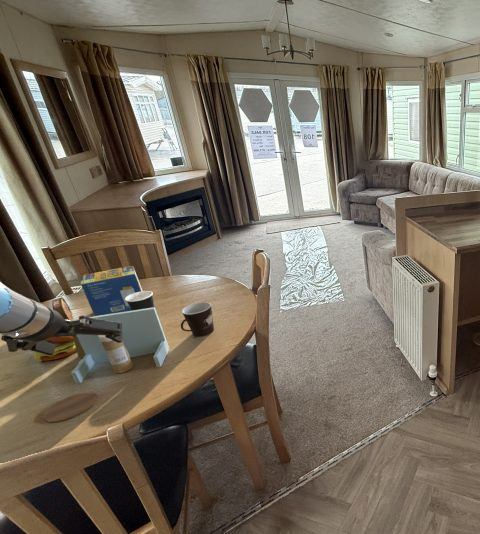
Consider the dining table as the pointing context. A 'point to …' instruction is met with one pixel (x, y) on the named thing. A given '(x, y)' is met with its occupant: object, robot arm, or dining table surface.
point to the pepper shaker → (78, 347)
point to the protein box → (110, 290)
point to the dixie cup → (140, 300)
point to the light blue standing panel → (125, 340)
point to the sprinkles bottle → (116, 354)
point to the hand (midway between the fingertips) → (87, 343)
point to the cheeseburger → (58, 348)
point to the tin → (62, 308)
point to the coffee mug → (198, 318)
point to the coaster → (70, 407)
